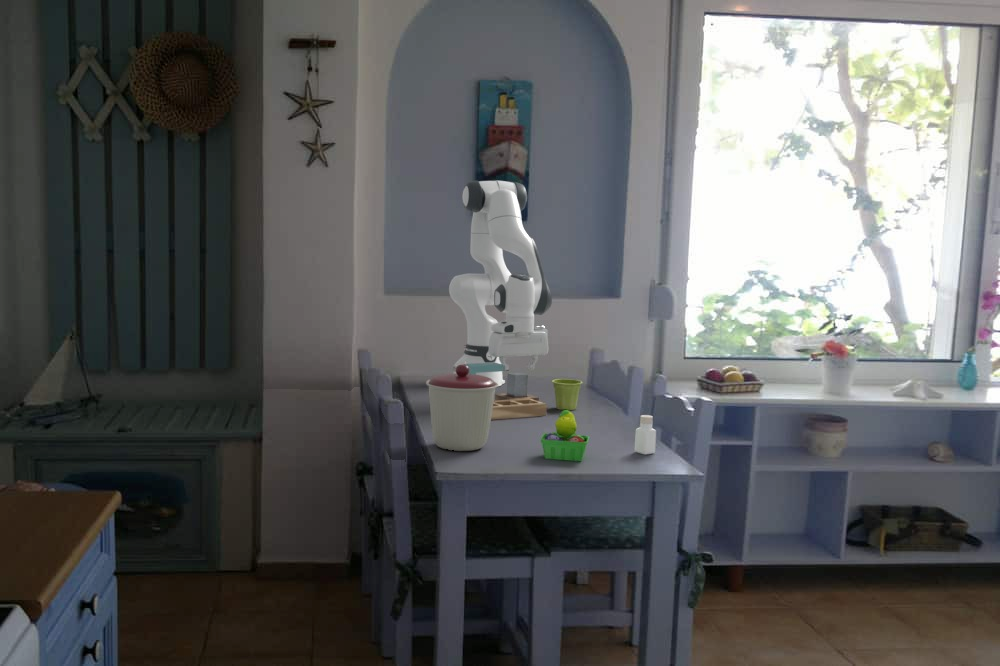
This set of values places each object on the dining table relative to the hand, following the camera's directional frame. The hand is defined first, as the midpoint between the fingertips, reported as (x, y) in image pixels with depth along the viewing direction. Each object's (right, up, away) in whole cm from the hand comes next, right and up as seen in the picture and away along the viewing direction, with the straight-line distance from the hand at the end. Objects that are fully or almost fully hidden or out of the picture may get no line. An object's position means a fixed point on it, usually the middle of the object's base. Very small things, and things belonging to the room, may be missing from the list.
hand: (518, 370), depth 307 cm
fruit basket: (+10, -19, -65) cm, 68 cm away
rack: (-4, -13, -14) cm, 20 cm away
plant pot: (+15, -12, -1) cm, 19 cm away
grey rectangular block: (-1, -11, +2) cm, 11 cm away
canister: (-16, -18, -58) cm, 63 cm away
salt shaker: (+31, -19, -57) cm, 68 cm away
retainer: (-12, -10, -5) cm, 17 cm away
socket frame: (-8, -11, -3) cm, 14 cm away
